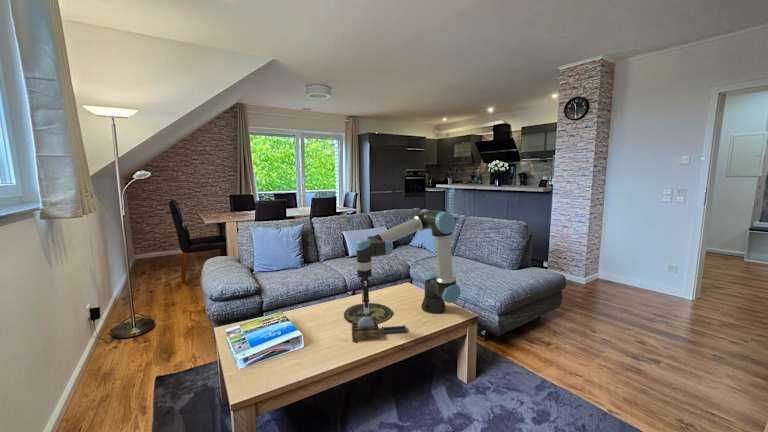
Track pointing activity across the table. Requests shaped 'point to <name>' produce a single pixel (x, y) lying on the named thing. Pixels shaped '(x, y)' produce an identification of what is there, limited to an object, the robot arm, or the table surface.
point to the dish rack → (364, 332)
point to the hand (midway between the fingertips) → (365, 307)
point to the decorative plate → (375, 313)
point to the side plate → (366, 322)
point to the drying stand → (394, 329)
